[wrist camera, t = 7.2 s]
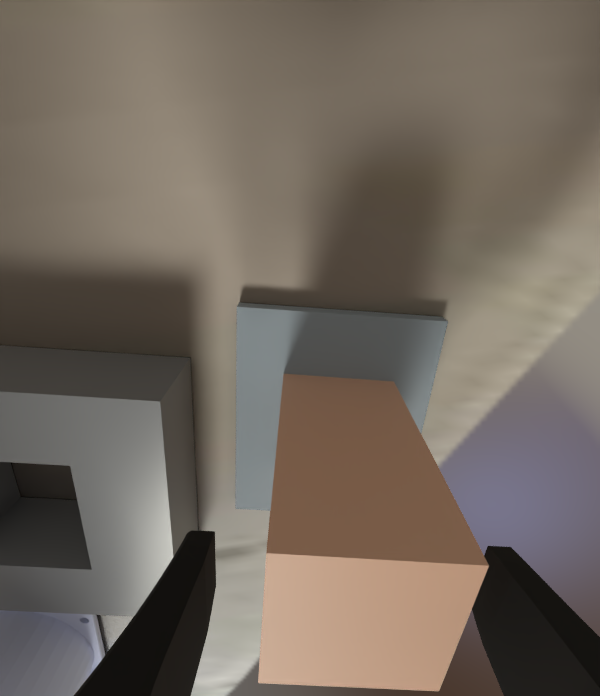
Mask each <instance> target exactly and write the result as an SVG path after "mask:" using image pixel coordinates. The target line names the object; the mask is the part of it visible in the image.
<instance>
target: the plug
mask: <svg viewBox="0 0 600 696" xmlns="http://www.w3.org/2000/svg"><path fill="white" fill-rule="evenodd" d="M488 567H489V565H488V563H487V561H486V559H485V557H484V555H483V553H482V551H481V549H480V547H479V545H478V543H477V542H476V540H475V538H474V536H473V534H472V532H471V530H470V528H469V526H468V524H467V522H466V520H465V518H464V516H463V514H462V512H461V511H460V509H459V507H458V505H457V503H456V501H455V499H454V497H453V495H452V493H451V491H450V489H449V487H448V485H447V484H446V482H445V480H444V478H443V476H442V474H441V472H440V470H439V468H438V466H437V464H436V462H435V460H434V458H433V456H432V454H431V452H430V450H429V449H428V447H427V445H426V443H425V441H424V439H423V437H422V435H421V433H420V431H419V429H418V427H417V425H416V423H415V421H414V419H413V418H412V416H411V414H410V412H409V410H408V408H407V406H406V404H405V402H404V400H403V398H402V396H401V394H400V392H399V390H398V388H397V387H396V385H395V383H394V381H380V380H366V379H352V378H338V377H324V376H310V375H296V374H283V384H282V394H281V405H280V415H279V426H278V436H277V447H276V458H275V468H274V479H273V489H272V500H271V511H270V521H269V532H268V542H267V553H266V568H265V584H264V600H263V616H262V632H261V647H260V663H259V680H258V683H270V684H292V685H314V686H316V685H317V686H336V687H358V688H380V689H403V690H424V691H439V690H440V687H441V684H442V682H443V680H444V677H445V675H446V672H447V670H448V667H449V665H450V662H451V660H452V657H453V655H454V652H455V650H456V647H457V645H458V642H459V640H460V637H461V635H462V632H463V630H464V627H465V625H466V622H467V620H468V617H469V615H470V612H471V610H472V607H473V605H474V602H475V600H476V597H477V595H478V592H479V590H480V587H481V585H482V582H483V580H484V577H485V575H486V572H487V570H488Z"/></svg>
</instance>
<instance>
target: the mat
mask: <svg viewBox="0 0 600 696" xmlns="http://www.w3.org/2000/svg"><path fill="white" fill-rule="evenodd" d="M447 324H448V321H447V320H446V319H444V318H443V317H438V316H424V315H410V314H396V313H381V312H367V311H353V310H339V309H324V308H310V307H296V306H282V305H267V304H253V303H239V304H238V306H237V364H236V509H251V510H269V511H271V500H272V489H273V479H274V468H275V458H276V447H277V436H278V426H279V415H280V405H281V394H282V384H283V374H296V375H310V376H324V377H338V378H352V379H366V380H380V381H394V383H395V385H396V387H397V388H398V390H399V392H400V394H401V396H402V398H403V400H404V402H405V404H406V406H407V408H408V410H409V412H410V414H411V416H412V418H413V419H414V421H415V423H416V425H417V427H418V429H419V431H420V433H421V432H422V428H423V424H424V420H425V416H426V411H427V407H428V403H429V399H430V395H431V390H432V386H433V382H434V378H435V374H436V370H437V365H438V361H439V357H440V353H441V349H442V345H443V340H444V336H445V332H446V328H447Z"/></svg>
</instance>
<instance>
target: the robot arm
mask: <svg viewBox="0 0 600 696" xmlns="http://www.w3.org/2000/svg"><path fill="white" fill-rule="evenodd" d="M484 557H485V559H486V561H487V563H488V565H489V567H488V570H487V572H486V575H485V577H484V580H483V582H482V585H481V587H480V590H479V592H478V595H477V597H476V600H475V602H474V605H473V607H472V611H473V614H474V618H475V621H476V624H477V627H478V630H479V634H480V636H481V640H482V643H483V646H484V648H485V651H486V653H487V656H488V658H489V660H490V663H491V666H492V668H493V670H494V673H495V675H496V678H497V680H498V682H499V684H500V687H501V690H502V692H503V694H504V696H600V637H599V636H598V635H597V634H596V633H595V632H594V631H593V630H592V629H591V628H590V627H589V626H588V625H587V624H586V623H585V622H584V621H583V620H582V619H581V618H580V617H579V616H578V615H577V614H576V613H575V612H574V611H573V610H572V609H571V608H570V607H569V606H568V605H567V604H566V603H565V602H564V601H563V600H562V599H561V598H560V597H559V596H558V595H557V594H556V593H555V592H554V591H553V590H552V589H551V588H550V587H549V586H548V585H547V583H545V581H543V579H542V578H541V577H540V576H539V575H538V574H537V573H536V572H535V571H534V570H533V569H532V568H531V567H530V566H529V565H528V564H527V563H526V562H525V561H524V560H523V559H522V558H521V557H520V556H519V555H518V554H517V553H516V552H515V551H514V550H513V549H512V548H511V547H497V546H488V547H487V550H486V553H485V555H484ZM215 588H216V567H215V532H213V531H194V530H191V531H190V532H188V533H187V534H186V536H185V538H184V540H183V541H182V543H181V545H180V547H179V548H178V550H177V552H176V553H175V555H174V557H173V558H172V560H171V562H170V563H169V565H168V567H167V568H166V570H165V571H164V573H163V574H162V576H161V577H160V579H159V581H158V582H157V584H156V585H155V587H154V588H153V590H152V591H151V592H150V594H149V595H148V597H147V598H146V600H145V601H144V603H143V604H142V606H141V607H140V608H139V610H138V611H137V613H136V614H135V616H134V617H133V619H132V620H131V621H130V623H129V624H128V626H127V627H126V628H125V630H124V631H123V632H122V634H121V635H120V636H119V638H118V639H117V640H116V642H115V643H114V644H113V646H112V647H111V648H110V650H109V651H108V652H107V654H106V655H105V651H104V647H103V642H102V638H101V633H100V628H99V624H98V619H97V615H92V614H70V613H48V612H26V611H5V610H0V696H191V692H192V688H193V684H194V681H195V677H196V673H197V670H198V666H199V662H200V658H201V655H202V651H203V647H204V643H205V640H206V636H207V632H208V627H209V621H210V616H211V610H212V605H213V599H214V593H215Z"/></svg>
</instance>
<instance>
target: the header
mask: <svg viewBox="0 0 600 696" xmlns="http://www.w3.org/2000/svg"><path fill="white" fill-rule="evenodd" d="M11 462H13V463H30V464H48V465H65V466H70V468H71V473H72V478H73V482H74V487H75V492H76V497H77V500H63V499H45V498H26V497H20V493H19V490H18V486H17V483H16V479H15V476H14V472H13V469H12V465H11ZM191 530H194V531H198V511H197V490H196V468H195V447H194V425H193V404H192V382H191V361H190V358H186V357H171V356H156V355H141V354H126V353H110V352H95V351H80V350H65V349H50V348H34V347H19V346H4V345H0V610H5V611H26V612H48V613H70V614H92V615H114V616H135V614H136V613H137V611H138V610H139V608H140V607H141V606H142V604H143V603H144V601H145V600H146V598H147V597H148V595H149V594H150V592H151V591H152V590H153V588H154V587H155V585H156V584H157V582H158V581H159V579H160V577H161V576H162V574H163V573H164V571H165V570H166V568H167V567H168V565H169V563H170V562H171V560H172V558H173V557H174V555H175V553H176V552H177V550H178V548H179V547H180V545H181V543H182V541H183V540H184V538H185V536H186V534H187V533H188V532H190V531H191Z"/></svg>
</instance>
